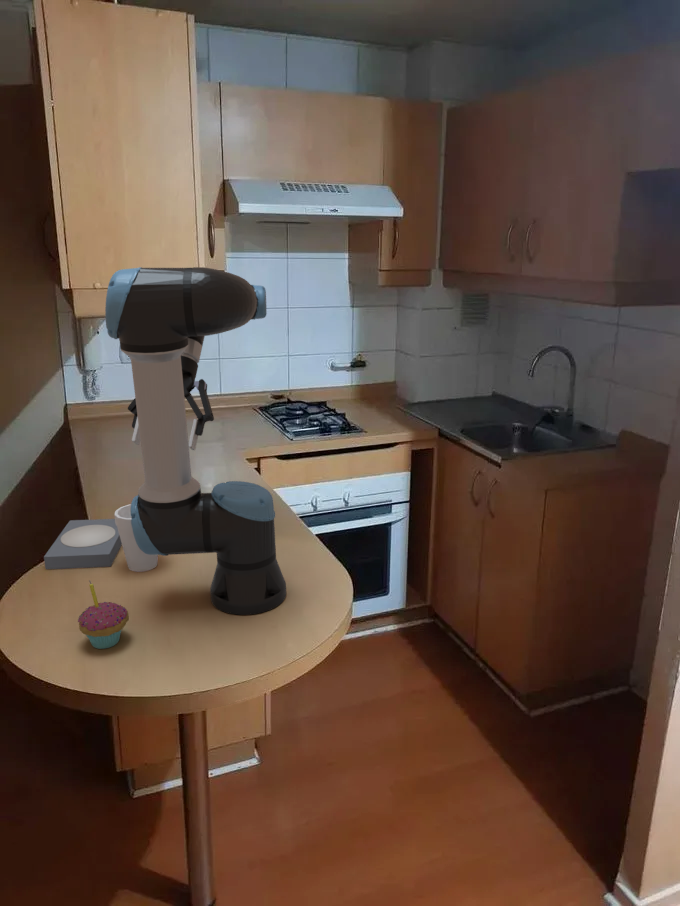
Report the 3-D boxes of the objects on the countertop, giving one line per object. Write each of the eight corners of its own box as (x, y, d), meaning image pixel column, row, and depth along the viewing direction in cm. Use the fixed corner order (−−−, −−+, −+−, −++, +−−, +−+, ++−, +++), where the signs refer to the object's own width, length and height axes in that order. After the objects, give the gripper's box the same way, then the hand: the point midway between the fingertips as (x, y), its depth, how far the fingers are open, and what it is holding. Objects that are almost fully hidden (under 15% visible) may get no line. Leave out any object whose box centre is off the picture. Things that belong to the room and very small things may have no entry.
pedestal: (110, 566, 156) (109, 552, 155) (45, 569, 155) (43, 555, 154) (129, 529, 175) (127, 517, 174) (71, 531, 174) (69, 519, 173)
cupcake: (71, 649, 125) (62, 589, 122) (102, 624, 133) (95, 567, 129) (110, 659, 122) (103, 597, 119) (140, 633, 130) (134, 575, 126)
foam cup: (148, 551, 162) (142, 499, 158) (173, 563, 157) (168, 509, 153) (112, 567, 155) (105, 512, 151) (137, 579, 150) (131, 523, 146)
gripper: (237, 370, 167) (220, 455, 161) (140, 363, 172) (119, 445, 166) (228, 357, 160) (210, 445, 154) (126, 349, 165) (105, 435, 159)
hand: (163, 445), depth 160 cm, fingers open, 13 cm apart
